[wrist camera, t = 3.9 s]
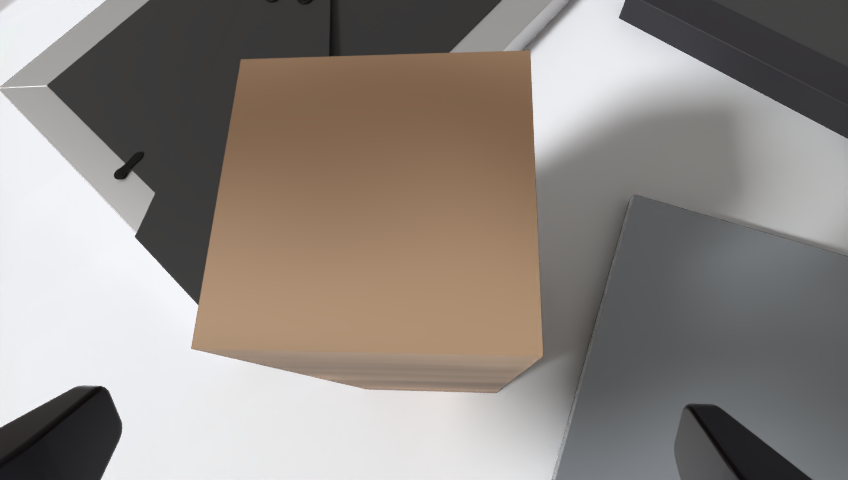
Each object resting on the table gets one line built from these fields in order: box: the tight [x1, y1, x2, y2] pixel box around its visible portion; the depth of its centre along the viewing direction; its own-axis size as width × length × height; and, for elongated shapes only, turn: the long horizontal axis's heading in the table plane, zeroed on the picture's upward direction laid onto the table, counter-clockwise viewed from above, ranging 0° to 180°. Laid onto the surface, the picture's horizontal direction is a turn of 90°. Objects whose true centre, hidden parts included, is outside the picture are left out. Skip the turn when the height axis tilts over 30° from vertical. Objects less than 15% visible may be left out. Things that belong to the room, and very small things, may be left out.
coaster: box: [552, 194, 848, 480], centre depth 16 cm, size 12×12×1 cm
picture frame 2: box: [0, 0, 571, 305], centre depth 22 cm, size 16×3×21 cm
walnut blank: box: [191, 50, 543, 393], centre depth 13 cm, size 4×4×12 cm
